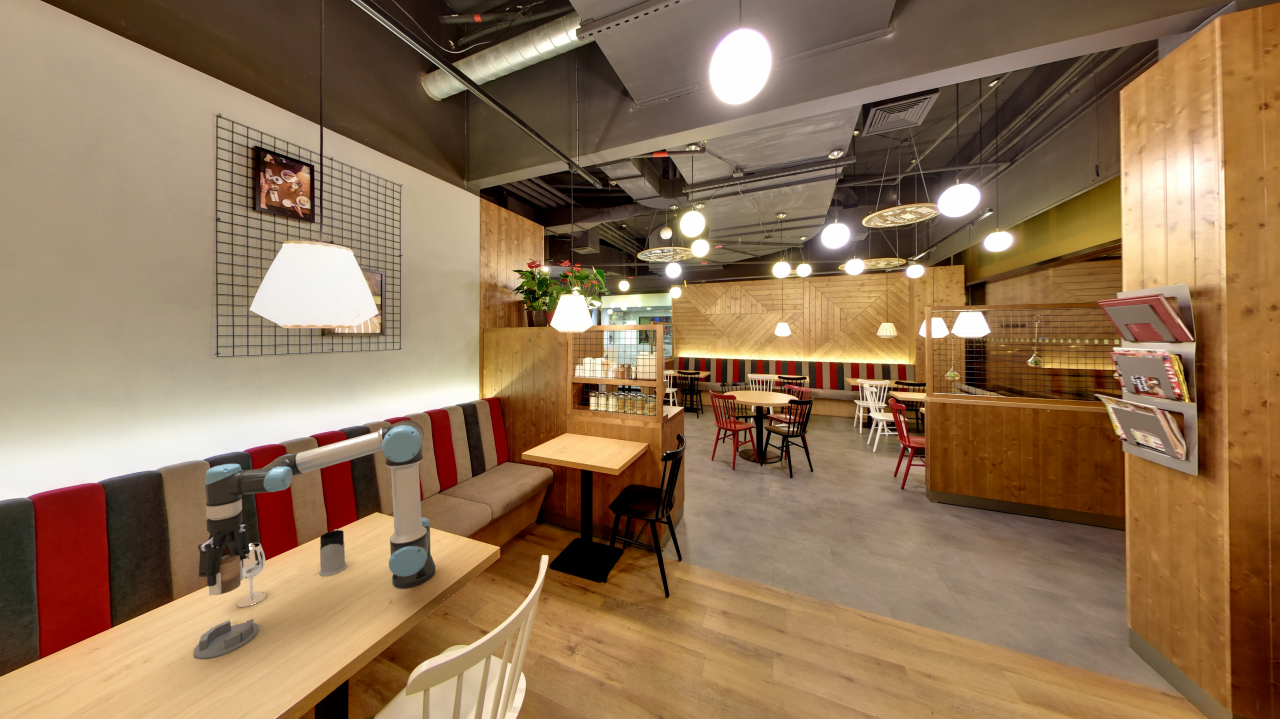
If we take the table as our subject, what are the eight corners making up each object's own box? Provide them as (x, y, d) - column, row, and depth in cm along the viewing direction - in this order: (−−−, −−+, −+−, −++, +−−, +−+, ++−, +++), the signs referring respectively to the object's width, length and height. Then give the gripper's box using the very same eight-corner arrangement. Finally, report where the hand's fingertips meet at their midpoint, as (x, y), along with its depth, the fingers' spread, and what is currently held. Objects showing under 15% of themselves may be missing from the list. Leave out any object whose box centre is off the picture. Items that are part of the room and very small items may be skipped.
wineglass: (270, 596, 141) (269, 544, 141) (242, 610, 134) (240, 554, 134) (260, 590, 145) (258, 539, 144) (232, 603, 138) (229, 549, 137)
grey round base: (271, 623, 128) (270, 613, 128) (230, 657, 114) (229, 646, 114) (225, 625, 127) (225, 615, 127) (178, 660, 113) (178, 649, 113)
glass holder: (317, 578, 152) (316, 542, 152) (324, 561, 165) (323, 527, 164) (344, 572, 157) (343, 536, 156) (349, 555, 169) (348, 522, 169)
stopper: (246, 581, 124) (245, 552, 123) (227, 594, 117) (226, 563, 117) (225, 582, 123) (224, 553, 123) (205, 595, 117) (204, 564, 116)
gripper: (240, 502, 128) (242, 569, 129) (176, 530, 109) (179, 608, 110) (264, 502, 129) (266, 568, 130) (205, 529, 110) (207, 607, 111)
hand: (226, 587), depth 120 cm, fingers closed on stopper, 6 cm apart
